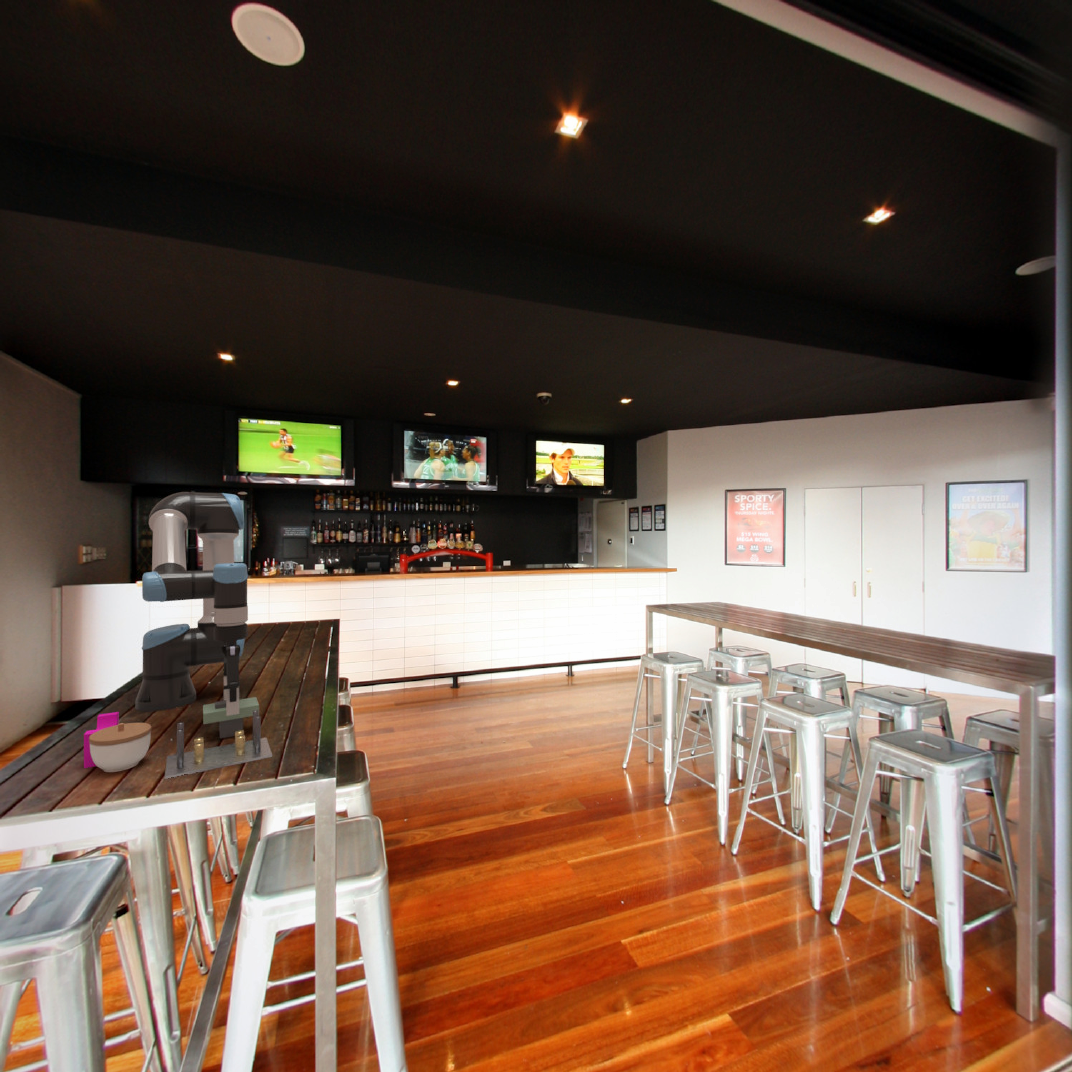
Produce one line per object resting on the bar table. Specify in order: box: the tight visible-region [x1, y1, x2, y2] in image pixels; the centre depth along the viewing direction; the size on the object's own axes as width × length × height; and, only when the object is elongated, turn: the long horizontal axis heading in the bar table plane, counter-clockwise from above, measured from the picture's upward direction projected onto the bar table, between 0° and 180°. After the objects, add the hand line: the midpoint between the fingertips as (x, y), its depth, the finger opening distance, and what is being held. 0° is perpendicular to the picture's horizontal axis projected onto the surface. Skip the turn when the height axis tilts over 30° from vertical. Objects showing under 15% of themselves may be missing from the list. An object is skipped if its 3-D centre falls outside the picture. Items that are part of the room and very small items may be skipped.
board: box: [202, 696, 260, 725], centre depth 134 cm, size 8×12×4 cm, turn 123°
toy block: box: [83, 711, 120, 769], centre depth 123 cm, size 15×6×8 cm, turn 30°
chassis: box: [164, 710, 273, 780], centre depth 119 cm, size 12×20×9 cm, turn 123°
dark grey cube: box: [218, 718, 244, 739], centre depth 134 cm, size 5×5×5 cm
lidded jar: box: [89, 722, 152, 773], centre depth 115 cm, size 11×11×9 cm
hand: (231, 707), depth 134 cm, fingers open, 13 cm apart
